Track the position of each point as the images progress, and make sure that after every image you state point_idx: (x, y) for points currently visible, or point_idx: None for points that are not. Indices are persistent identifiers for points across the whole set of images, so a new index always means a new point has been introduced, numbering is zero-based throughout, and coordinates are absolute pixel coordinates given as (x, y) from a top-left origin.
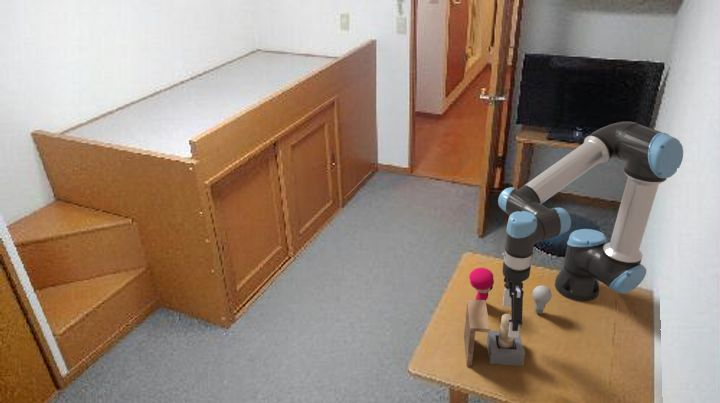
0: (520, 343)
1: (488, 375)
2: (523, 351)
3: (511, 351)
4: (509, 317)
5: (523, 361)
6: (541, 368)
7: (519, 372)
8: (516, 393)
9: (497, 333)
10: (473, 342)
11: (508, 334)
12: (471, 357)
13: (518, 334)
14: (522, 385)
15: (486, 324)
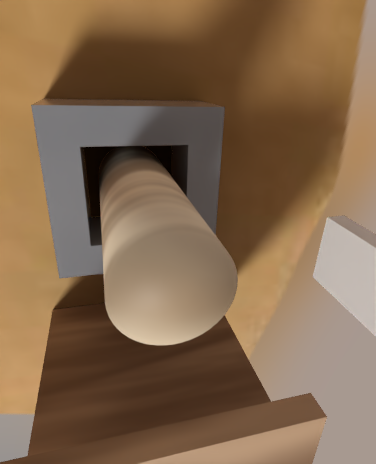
0: (138, 116)
1: (249, 238)
2: (201, 109)
3: (203, 174)
4: (157, 290)
5: (210, 103)
6: (215, 4)
7: (238, 122)
8: (331, 149)
9: (74, 235)
10: (258, 381)
11: (323, 284)
12: (224, 319)
13: (368, 231)
14: (301, 120)
15: (284, 438)
